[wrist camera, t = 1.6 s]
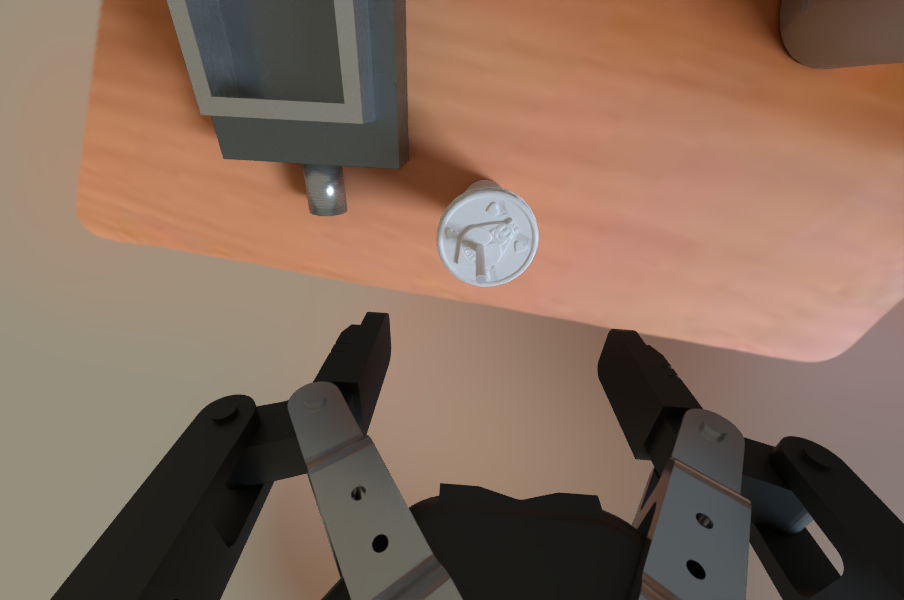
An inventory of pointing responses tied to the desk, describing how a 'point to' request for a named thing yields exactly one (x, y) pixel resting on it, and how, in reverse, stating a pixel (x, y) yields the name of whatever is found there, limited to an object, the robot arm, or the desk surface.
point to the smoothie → (487, 235)
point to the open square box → (301, 84)
